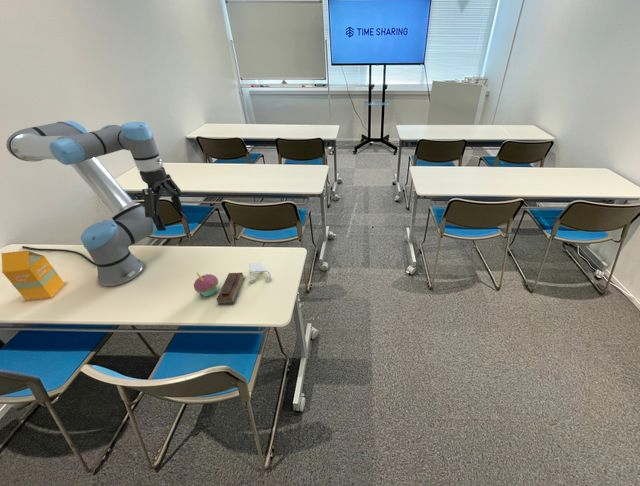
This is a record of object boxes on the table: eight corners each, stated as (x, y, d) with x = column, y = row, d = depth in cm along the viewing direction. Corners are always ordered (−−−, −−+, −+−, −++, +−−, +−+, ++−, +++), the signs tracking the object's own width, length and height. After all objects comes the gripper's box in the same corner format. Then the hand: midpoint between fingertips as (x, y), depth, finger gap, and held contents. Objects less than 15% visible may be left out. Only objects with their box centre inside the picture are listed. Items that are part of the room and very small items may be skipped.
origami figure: (242, 282, 119) (239, 273, 116) (251, 269, 126) (249, 260, 123) (269, 286, 117) (267, 277, 114) (278, 272, 124) (276, 263, 121)
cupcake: (212, 301, 110) (202, 277, 104) (192, 298, 112) (182, 274, 106) (225, 285, 118) (217, 262, 111) (206, 282, 119) (197, 259, 113)
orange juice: (51, 297, 113) (19, 257, 103) (25, 300, 112) (-10, 260, 101) (65, 283, 120) (36, 244, 109) (40, 286, 118) (9, 246, 108)
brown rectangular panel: (233, 304, 109) (231, 296, 107) (218, 304, 109) (215, 296, 107) (244, 278, 121) (241, 270, 119) (230, 278, 121) (228, 271, 119)
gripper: (141, 183, 91) (164, 239, 103) (179, 156, 112) (195, 204, 124) (116, 184, 91) (142, 239, 102) (159, 156, 112) (177, 204, 123)
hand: (171, 220), depth 113 cm, fingers open, 13 cm apart
